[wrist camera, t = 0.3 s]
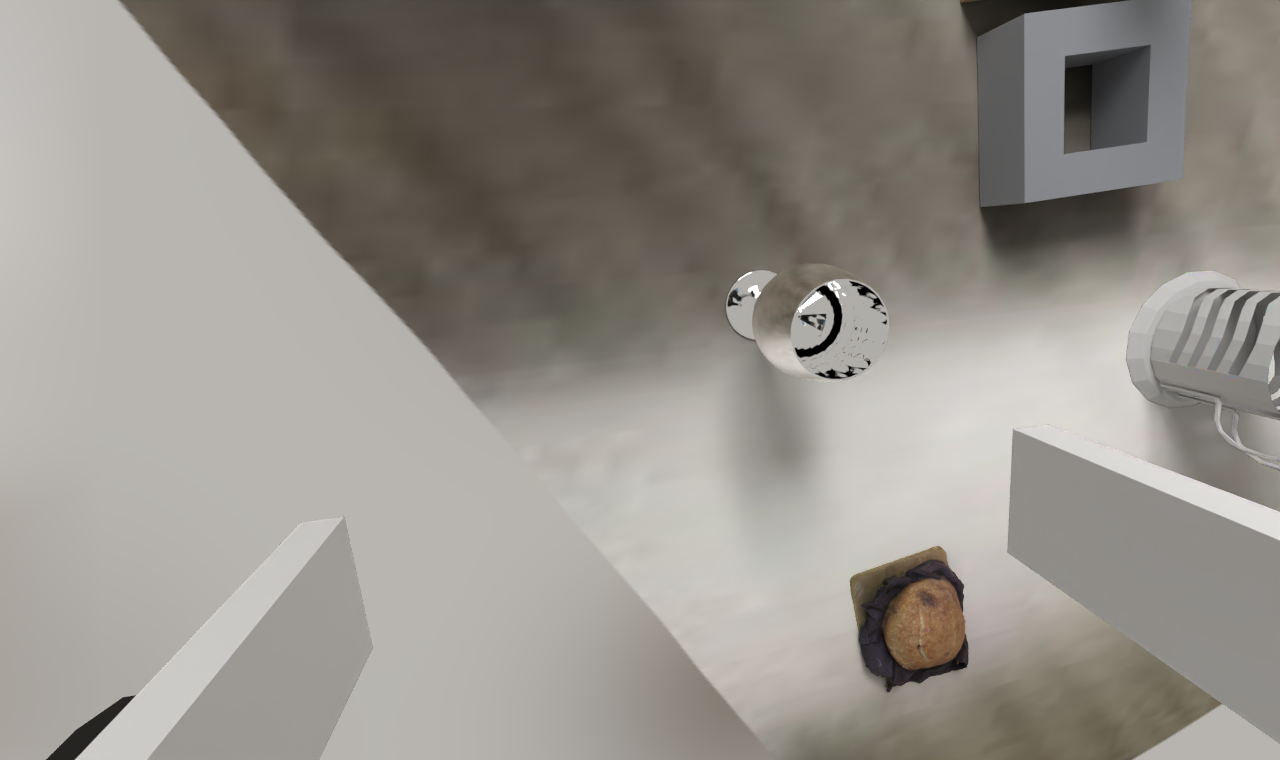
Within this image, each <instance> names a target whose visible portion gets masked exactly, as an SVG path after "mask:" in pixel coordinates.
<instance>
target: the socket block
mask: <svg viewBox="0 0 1280 760" xmlns="http://www.w3.org/2000/svg"><path fill="white" fill-rule="evenodd" d="M972 1H980V0H961V3H964V2H972Z"/></svg>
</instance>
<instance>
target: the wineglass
mask: <svg viewBox="0 0 1280 760" xmlns="http://www.w3.org/2000/svg"><path fill="white" fill-rule="evenodd" d="M726 314H727V317H728V320H729V322H730V324H731V326H732V327H733V329H735V330H736V331H737V332H738V333H739V334H740V335H742V336H744V337H746V338H749V339H754V340H755V341H756V344H757V345H758V347H759V349H760V351H761V352H762V354H763V355H764V356H765V358H766V359H767V360H768V361H769V362H770V363H771V364H772V365H774V366H775V367H776V368H778V369H779V370H781V371H783V372H784V373H786V374H789V375H791V376H794V377H797V378H800V379H805V380H811V381H819V382H831V381H841V380H846V379H850V378H853V377H856V376H858V375H859V374H861V373H863V372H865V371H866V370H867V369H868V368H869V367H871V366H872V365H873V364H874V363H875V362H876V361H877V359H878V358H879V357H880V355H881V353H882V352H883V350H884V347H885V345H886V342H887V339H888V334H889V317H888V312H887V309H886V307H885V304H884V302H883V300H882V299H881V298H880V296H879V295H878V293H877V292H876V291H875V290H873V289H872V288H871V287H870V286H869V285H868V284H867V283H866V282H864V281H863V280H861V279H860V278H859V277H857V276H855V275H854V274H852V273H850V272H848V271H845V270H843V269H841V268H838V267H836V266H832V265H827V264H822V263H807V264H801V265H797V266H794V267H791V268H788V269H786V270H784V271H782V272H781V273H779V274H777V273H775V272H772V271H769V270H754V271H751V272H748V273H746V274H744V275H743V276H741V277H740V278H739V279H737V280H736V281H735V283H734V284H733V285H732V287H731V289H730V290H729V293H728V296H727V299H726Z"/></svg>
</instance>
